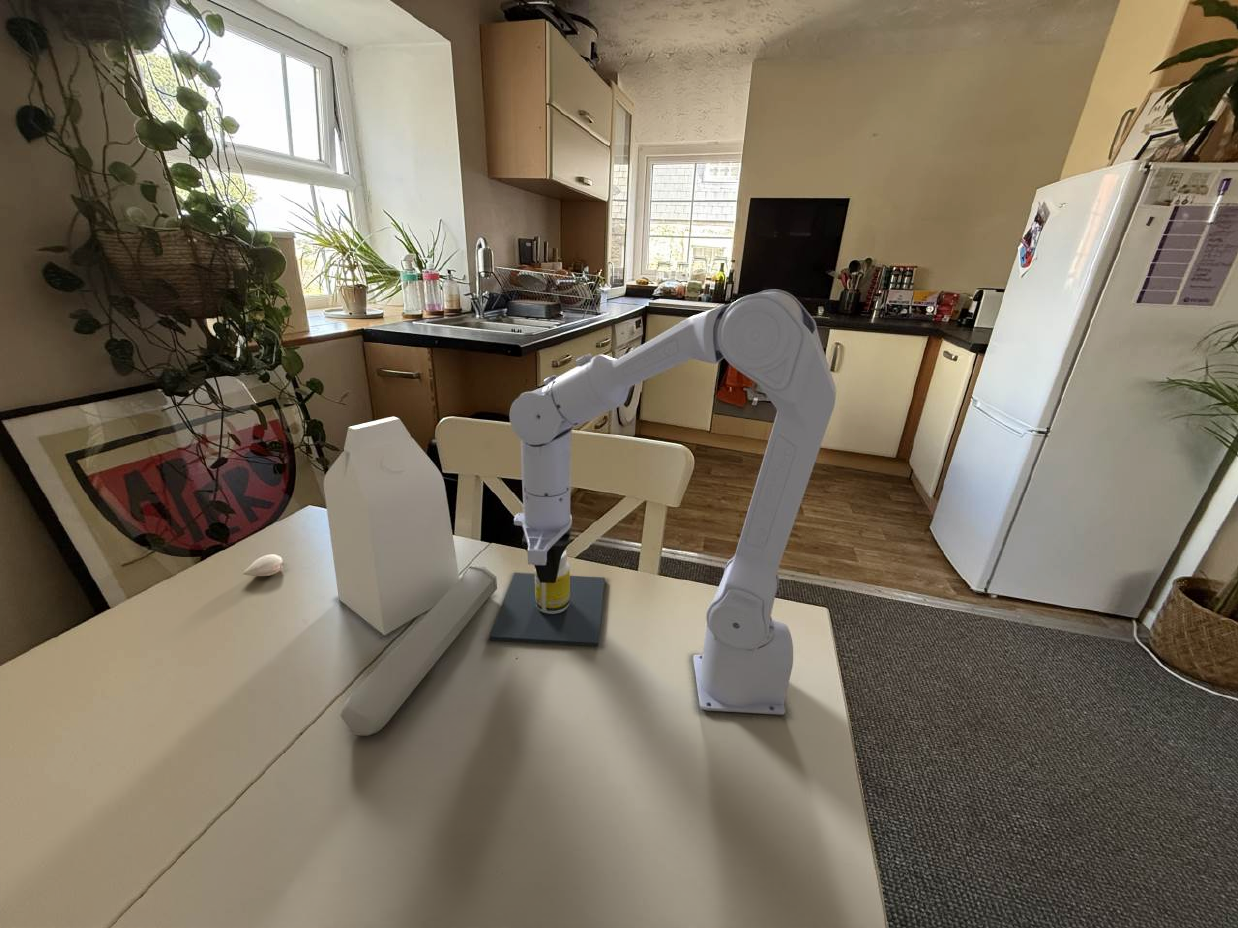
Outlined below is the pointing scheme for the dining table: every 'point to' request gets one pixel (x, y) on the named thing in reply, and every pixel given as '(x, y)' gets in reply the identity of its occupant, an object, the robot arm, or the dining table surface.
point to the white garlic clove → (265, 566)
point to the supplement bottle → (554, 590)
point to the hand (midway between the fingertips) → (547, 580)
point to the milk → (389, 526)
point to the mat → (566, 627)
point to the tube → (416, 653)
